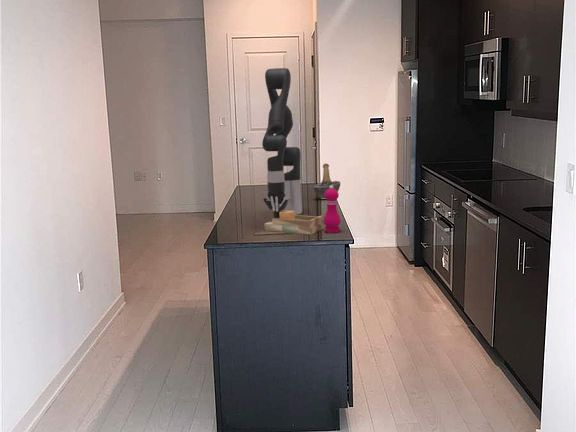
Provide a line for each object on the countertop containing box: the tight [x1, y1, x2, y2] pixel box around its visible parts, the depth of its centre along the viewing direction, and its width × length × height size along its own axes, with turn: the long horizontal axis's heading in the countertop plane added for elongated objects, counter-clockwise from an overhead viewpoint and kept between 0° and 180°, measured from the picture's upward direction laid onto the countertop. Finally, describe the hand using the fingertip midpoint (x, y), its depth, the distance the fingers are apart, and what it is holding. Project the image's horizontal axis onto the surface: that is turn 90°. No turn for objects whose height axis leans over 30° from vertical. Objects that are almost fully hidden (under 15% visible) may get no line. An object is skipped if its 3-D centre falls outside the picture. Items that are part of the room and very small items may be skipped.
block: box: [279, 210, 295, 220], centre depth 270 cm, size 5×5×5 cm
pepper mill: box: [323, 185, 341, 234], centre depth 262 cm, size 7×7×20 cm
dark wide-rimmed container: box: [313, 163, 341, 199], centre depth 347 cm, size 15×17×20 cm
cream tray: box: [263, 214, 324, 235], centre depth 269 cm, size 11×23×6 cm, turn 61°
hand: (277, 219), depth 273 cm, fingers closed
